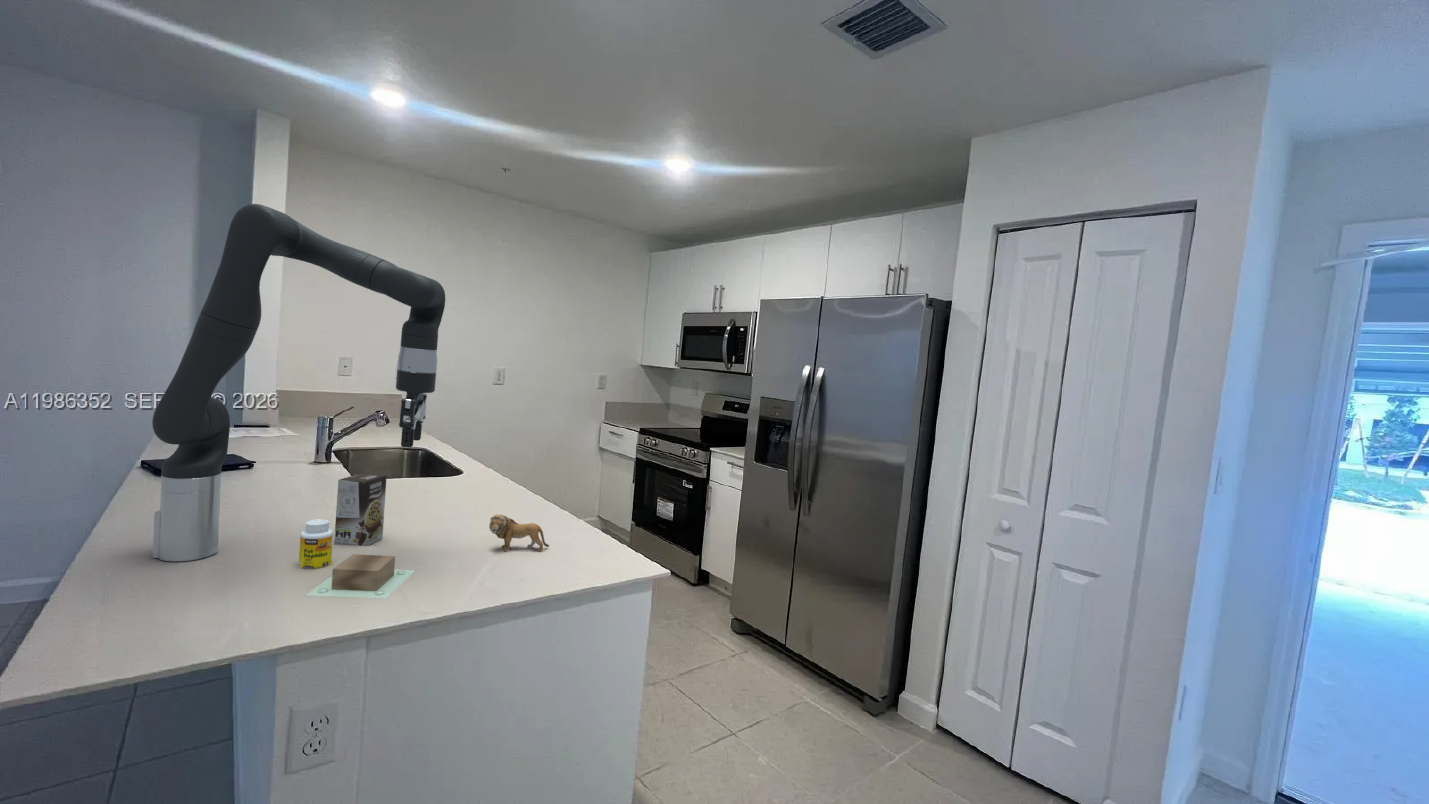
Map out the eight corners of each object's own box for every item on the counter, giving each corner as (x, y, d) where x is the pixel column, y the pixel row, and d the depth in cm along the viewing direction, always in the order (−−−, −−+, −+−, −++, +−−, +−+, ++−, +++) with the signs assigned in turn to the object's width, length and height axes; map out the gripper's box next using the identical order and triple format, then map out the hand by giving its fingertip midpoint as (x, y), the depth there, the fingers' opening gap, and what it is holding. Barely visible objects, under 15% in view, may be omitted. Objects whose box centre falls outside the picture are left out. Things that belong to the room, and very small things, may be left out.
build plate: (304, 601, 104) (305, 593, 104) (343, 572, 118) (343, 565, 118) (386, 604, 106) (386, 596, 106) (414, 575, 120) (415, 568, 120)
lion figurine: (487, 554, 137) (490, 517, 136) (487, 546, 141) (489, 511, 141) (550, 551, 142) (553, 517, 142) (547, 544, 147) (550, 511, 147)
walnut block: (331, 589, 108) (332, 568, 107) (352, 573, 115) (353, 554, 115) (376, 591, 109) (377, 570, 108) (394, 575, 117) (395, 556, 116)
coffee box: (360, 550, 130) (364, 482, 129) (332, 547, 131) (336, 479, 129) (384, 538, 140) (388, 474, 138) (358, 535, 140) (362, 471, 139)
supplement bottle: (297, 576, 114) (300, 526, 114) (299, 566, 119) (301, 518, 118) (330, 572, 117) (333, 524, 117) (331, 563, 122) (333, 517, 121)
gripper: (404, 366, 128) (399, 437, 129) (389, 369, 114) (383, 448, 115) (441, 369, 130) (435, 439, 131) (430, 373, 117) (424, 450, 118)
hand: (411, 443), depth 123 cm, fingers open, 8 cm apart
